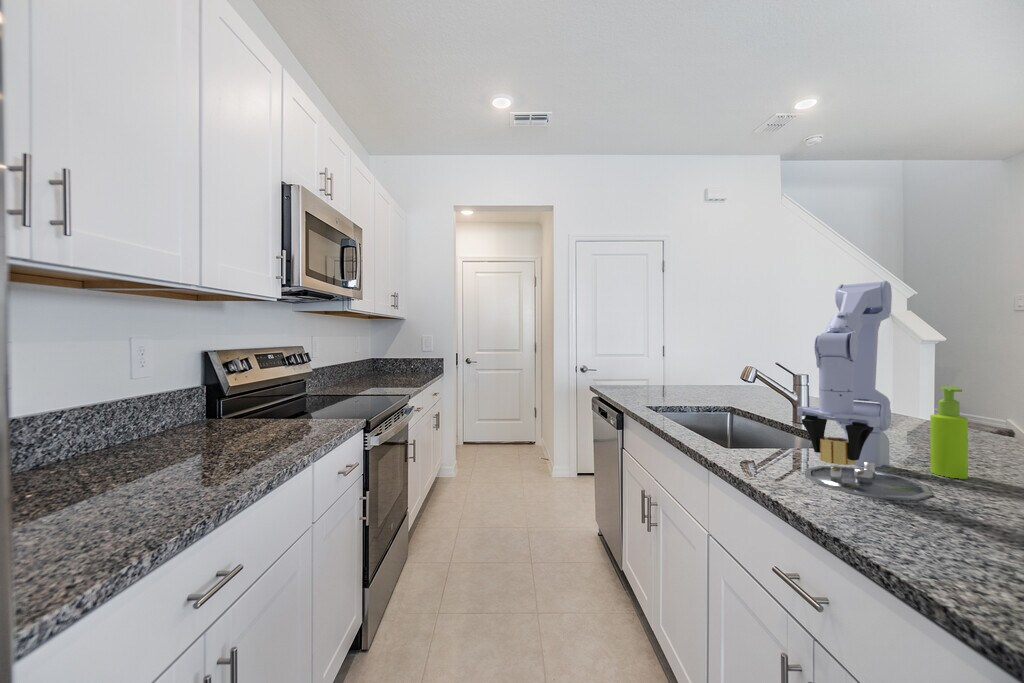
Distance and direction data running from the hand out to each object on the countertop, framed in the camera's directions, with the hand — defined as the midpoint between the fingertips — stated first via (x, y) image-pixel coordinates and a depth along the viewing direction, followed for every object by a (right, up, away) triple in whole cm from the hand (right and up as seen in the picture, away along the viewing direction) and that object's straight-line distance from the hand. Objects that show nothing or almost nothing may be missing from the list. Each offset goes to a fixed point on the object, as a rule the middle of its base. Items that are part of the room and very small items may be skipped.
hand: (835, 455), depth 89 cm
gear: (0, -1, 0) cm, 1 cm away
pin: (0, -6, 0) cm, 6 cm away
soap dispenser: (+31, -6, +7) cm, 32 cm away
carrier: (+5, -6, 0) cm, 8 cm away
